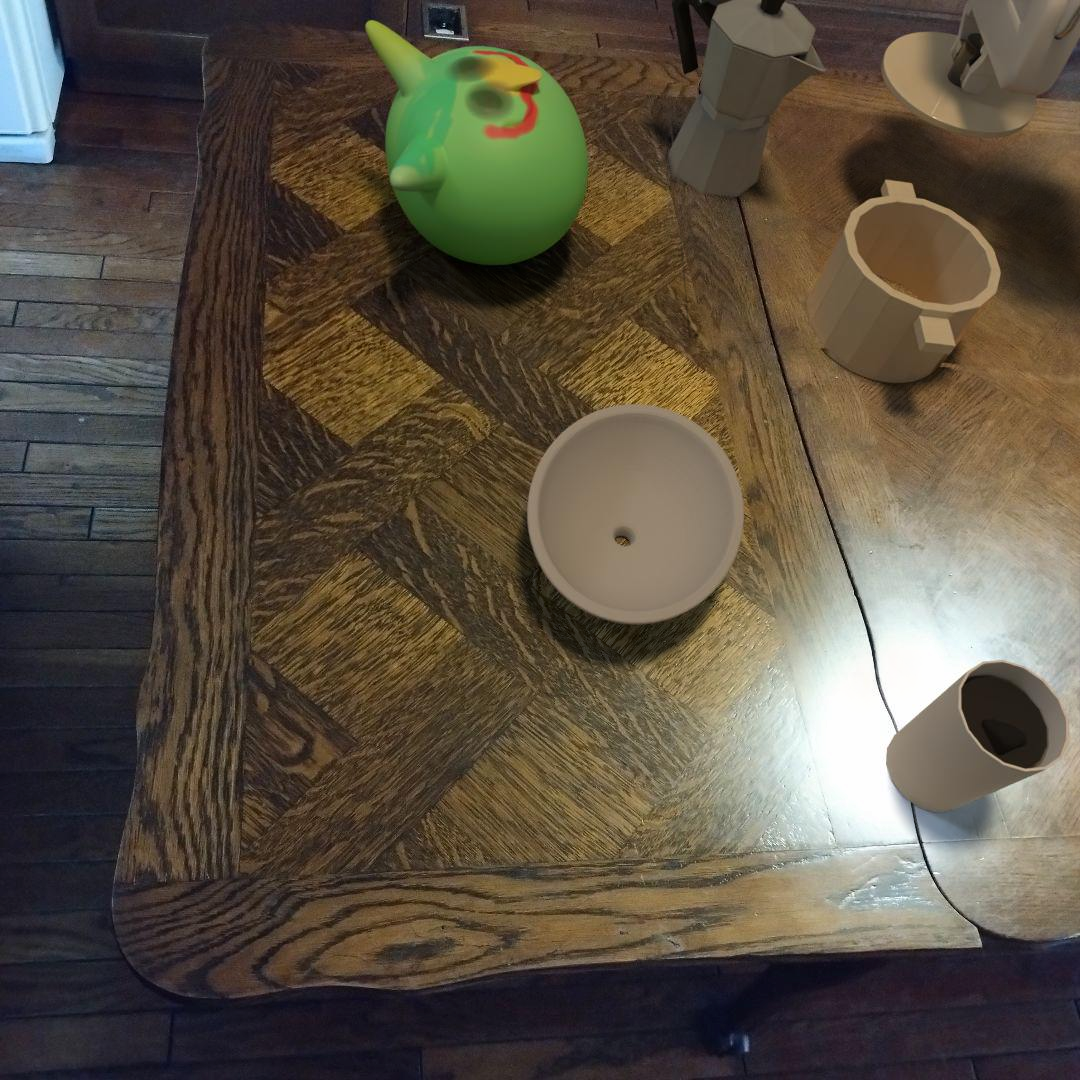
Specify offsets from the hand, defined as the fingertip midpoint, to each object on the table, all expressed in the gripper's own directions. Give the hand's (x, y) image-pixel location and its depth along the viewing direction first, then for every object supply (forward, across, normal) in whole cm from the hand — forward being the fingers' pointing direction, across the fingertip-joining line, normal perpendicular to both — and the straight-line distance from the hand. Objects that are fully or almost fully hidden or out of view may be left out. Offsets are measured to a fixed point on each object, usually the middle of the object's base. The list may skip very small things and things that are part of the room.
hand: (963, 74), depth 84 cm
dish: (+12, -42, +28) cm, 52 cm away
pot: (+12, -18, +5) cm, 22 cm away
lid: (+1, 0, 0) cm, 1 cm away
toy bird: (+12, -12, +40) cm, 44 cm away
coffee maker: (+12, 0, +19) cm, 23 cm away
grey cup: (+13, -57, +8) cm, 59 cm away
